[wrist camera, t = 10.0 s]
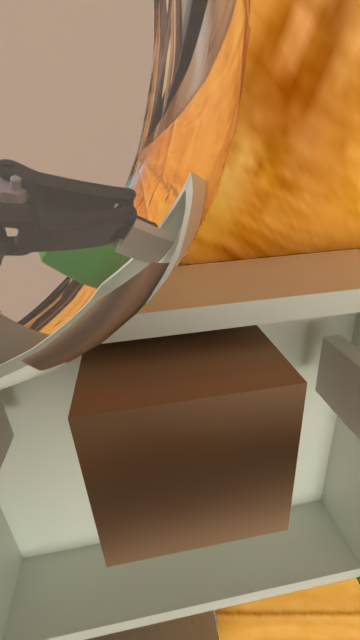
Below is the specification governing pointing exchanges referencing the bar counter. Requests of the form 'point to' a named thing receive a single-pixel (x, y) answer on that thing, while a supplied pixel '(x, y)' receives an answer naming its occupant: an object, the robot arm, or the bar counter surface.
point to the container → (172, 629)
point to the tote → (203, 563)
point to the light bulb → (105, 160)
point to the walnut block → (187, 440)
